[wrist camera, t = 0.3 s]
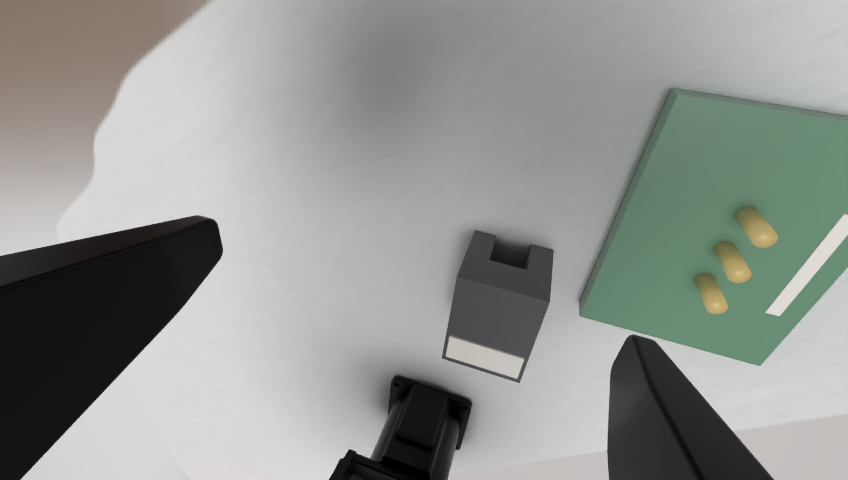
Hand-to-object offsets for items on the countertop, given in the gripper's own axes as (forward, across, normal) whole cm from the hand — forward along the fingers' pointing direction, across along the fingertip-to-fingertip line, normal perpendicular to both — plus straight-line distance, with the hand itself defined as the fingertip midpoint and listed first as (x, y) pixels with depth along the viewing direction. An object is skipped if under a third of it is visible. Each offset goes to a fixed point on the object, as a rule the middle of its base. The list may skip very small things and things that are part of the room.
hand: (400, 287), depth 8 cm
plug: (+14, -2, +9) cm, 17 cm away
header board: (+14, -11, +3) cm, 18 cm away
